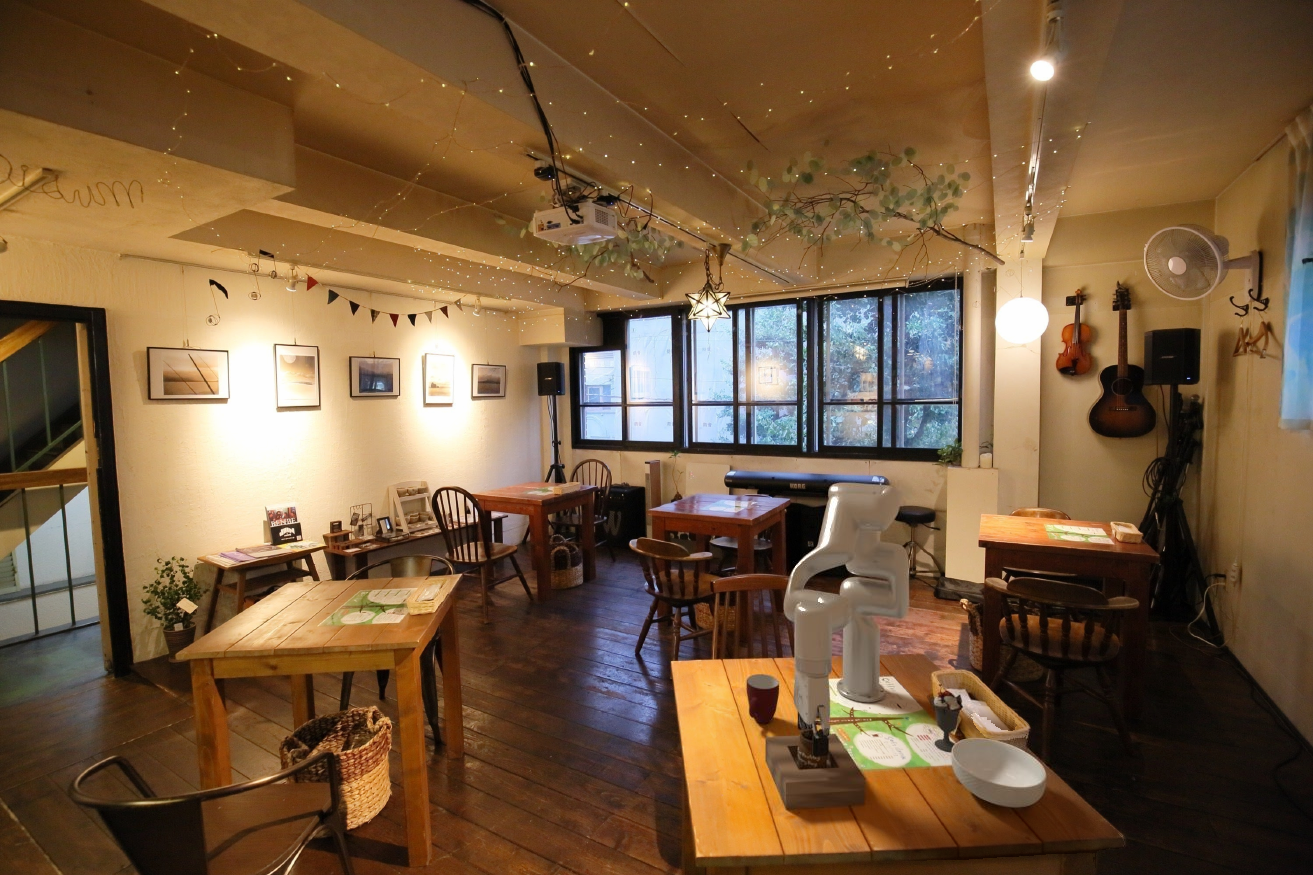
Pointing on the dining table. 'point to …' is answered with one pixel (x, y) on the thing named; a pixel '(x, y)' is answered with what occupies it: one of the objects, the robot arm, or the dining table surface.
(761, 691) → the mug
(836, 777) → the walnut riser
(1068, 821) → the dining table surface
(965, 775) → the cereal bowl
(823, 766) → the utensil holder
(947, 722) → the sundae
